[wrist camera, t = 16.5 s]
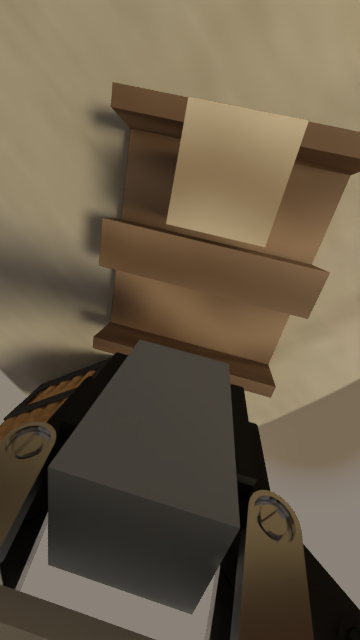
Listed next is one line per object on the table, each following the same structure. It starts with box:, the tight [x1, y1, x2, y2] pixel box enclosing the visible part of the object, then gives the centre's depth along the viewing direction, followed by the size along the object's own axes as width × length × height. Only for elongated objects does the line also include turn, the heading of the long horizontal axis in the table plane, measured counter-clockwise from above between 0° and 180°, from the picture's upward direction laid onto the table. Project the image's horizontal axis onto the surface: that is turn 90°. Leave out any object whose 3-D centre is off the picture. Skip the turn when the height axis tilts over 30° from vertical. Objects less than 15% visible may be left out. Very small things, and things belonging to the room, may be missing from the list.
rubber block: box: [48, 340, 240, 614], centre depth 8 cm, size 4×4×6 cm
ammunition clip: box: [0, 358, 111, 441], centre depth 20 cm, size 11×2×12 cm, turn 116°
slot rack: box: [93, 82, 360, 398], centre depth 17 cm, size 16×14×4 cm
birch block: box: [166, 97, 309, 247], centre depth 12 cm, size 4×4×8 cm
